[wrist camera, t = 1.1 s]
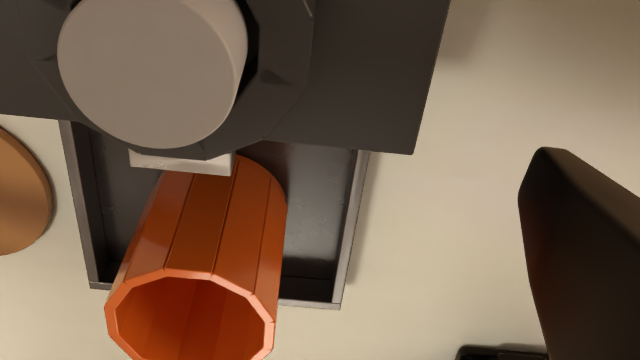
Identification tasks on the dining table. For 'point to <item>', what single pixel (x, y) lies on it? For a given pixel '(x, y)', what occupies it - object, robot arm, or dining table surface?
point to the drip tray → (277, 157)
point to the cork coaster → (21, 197)
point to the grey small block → (185, 163)
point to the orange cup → (202, 268)
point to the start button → (154, 66)
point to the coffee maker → (267, 73)
